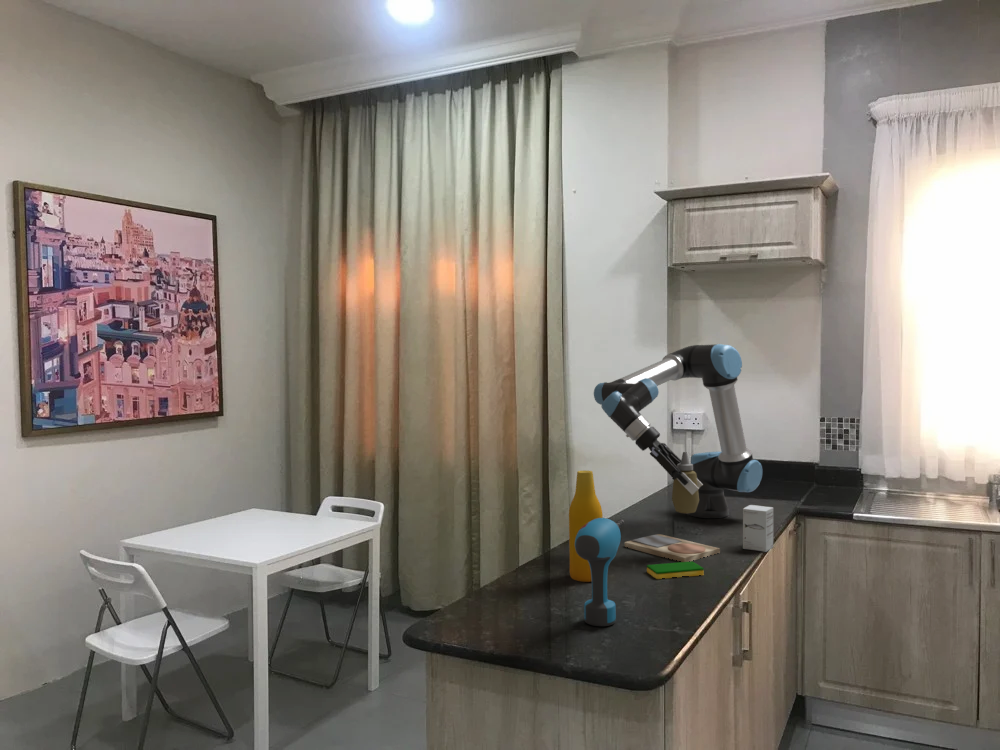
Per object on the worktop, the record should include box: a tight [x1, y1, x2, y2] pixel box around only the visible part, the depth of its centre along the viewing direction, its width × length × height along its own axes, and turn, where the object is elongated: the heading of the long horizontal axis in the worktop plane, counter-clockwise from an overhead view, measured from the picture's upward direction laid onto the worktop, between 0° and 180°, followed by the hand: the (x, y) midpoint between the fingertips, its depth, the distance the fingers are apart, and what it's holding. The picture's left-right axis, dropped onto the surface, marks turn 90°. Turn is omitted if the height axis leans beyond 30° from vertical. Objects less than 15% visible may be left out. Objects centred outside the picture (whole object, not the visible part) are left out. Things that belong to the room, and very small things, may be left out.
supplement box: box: [742, 504, 775, 553], centre depth 234 cm, size 7×7×13 cm
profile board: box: [624, 533, 721, 562], centre depth 234 cm, size 16×24×2 cm, turn 36°
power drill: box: [575, 517, 625, 627], centre depth 178 cm, size 28×9×23 cm, turn 154°
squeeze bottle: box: [671, 451, 699, 514], centre depth 229 cm, size 8×8×18 cm
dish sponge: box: [646, 561, 705, 580], centre depth 210 cm, size 7×14×2 cm, turn 102°
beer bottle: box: [568, 470, 604, 583], centre depth 208 cm, size 9×9×29 cm
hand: (697, 489), depth 228 cm, fingers closed on squeeze bottle, 6 cm apart
